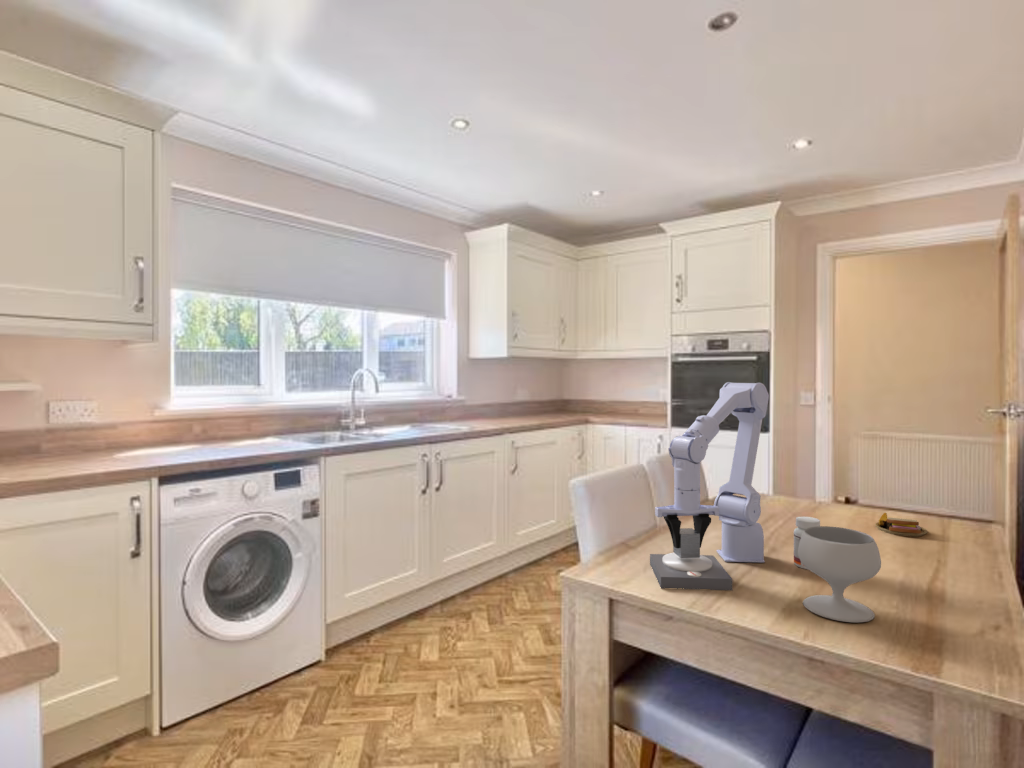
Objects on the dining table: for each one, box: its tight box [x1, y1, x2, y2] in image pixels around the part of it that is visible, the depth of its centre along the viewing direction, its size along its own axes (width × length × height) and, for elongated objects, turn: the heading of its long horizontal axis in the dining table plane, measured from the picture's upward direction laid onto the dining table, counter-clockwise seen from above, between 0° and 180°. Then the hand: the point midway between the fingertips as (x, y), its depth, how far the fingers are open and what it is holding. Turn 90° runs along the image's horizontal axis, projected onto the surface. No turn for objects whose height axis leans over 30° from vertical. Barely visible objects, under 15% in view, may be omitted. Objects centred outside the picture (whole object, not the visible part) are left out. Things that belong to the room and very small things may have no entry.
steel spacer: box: [672, 527, 701, 558], centre depth 128 cm, size 4×4×6 cm
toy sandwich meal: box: [874, 512, 928, 537], centre depth 160 cm, size 12×14×5 cm
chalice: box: [798, 525, 882, 624], centre depth 108 cm, size 14×14×15 cm
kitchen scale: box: [649, 552, 733, 591], centre depth 126 cm, size 15×15×3 cm
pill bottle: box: [793, 516, 821, 571], centre depth 132 cm, size 6×6×11 cm
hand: (687, 546), depth 128 cm, fingers closed on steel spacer, 4 cm apart
